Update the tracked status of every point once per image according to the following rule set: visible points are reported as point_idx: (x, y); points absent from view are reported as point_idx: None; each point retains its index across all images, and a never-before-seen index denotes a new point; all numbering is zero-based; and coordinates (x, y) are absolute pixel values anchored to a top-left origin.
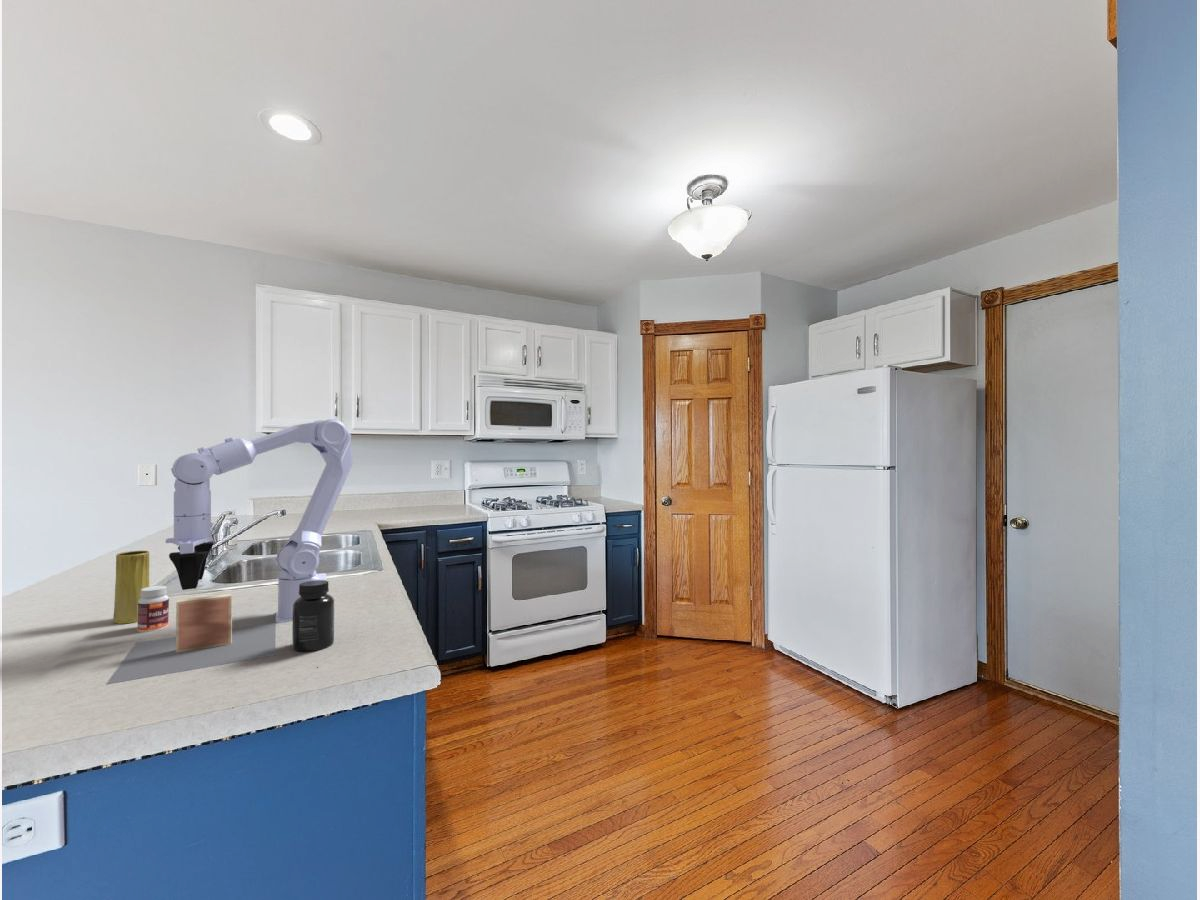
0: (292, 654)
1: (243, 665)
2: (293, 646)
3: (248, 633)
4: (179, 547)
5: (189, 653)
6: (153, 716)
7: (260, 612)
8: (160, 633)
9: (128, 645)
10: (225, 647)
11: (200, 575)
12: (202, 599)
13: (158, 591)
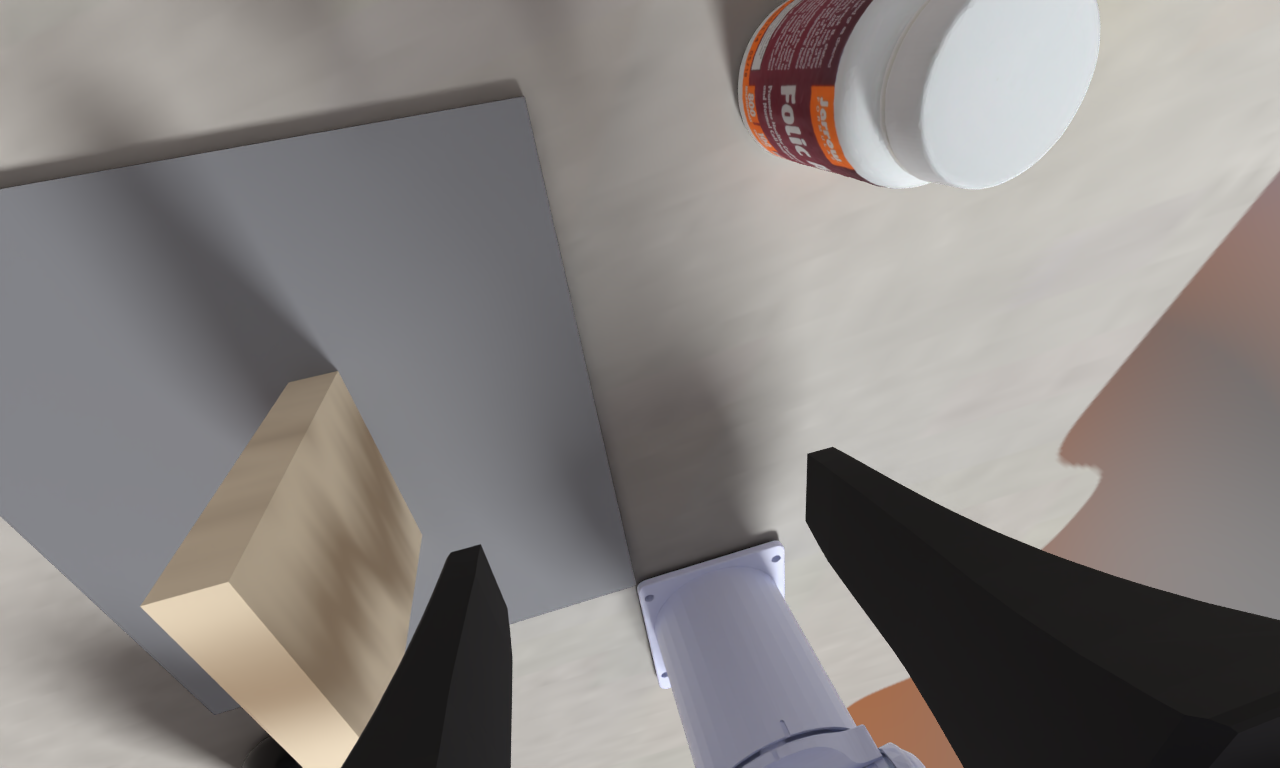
0: (251, 732)
1: (129, 655)
2: (261, 753)
3: (518, 552)
4: (1218, 737)
5: None
6: None
7: None
8: (702, 156)
9: (525, 47)
10: None
11: (823, 542)
12: (244, 703)
13: (913, 152)
